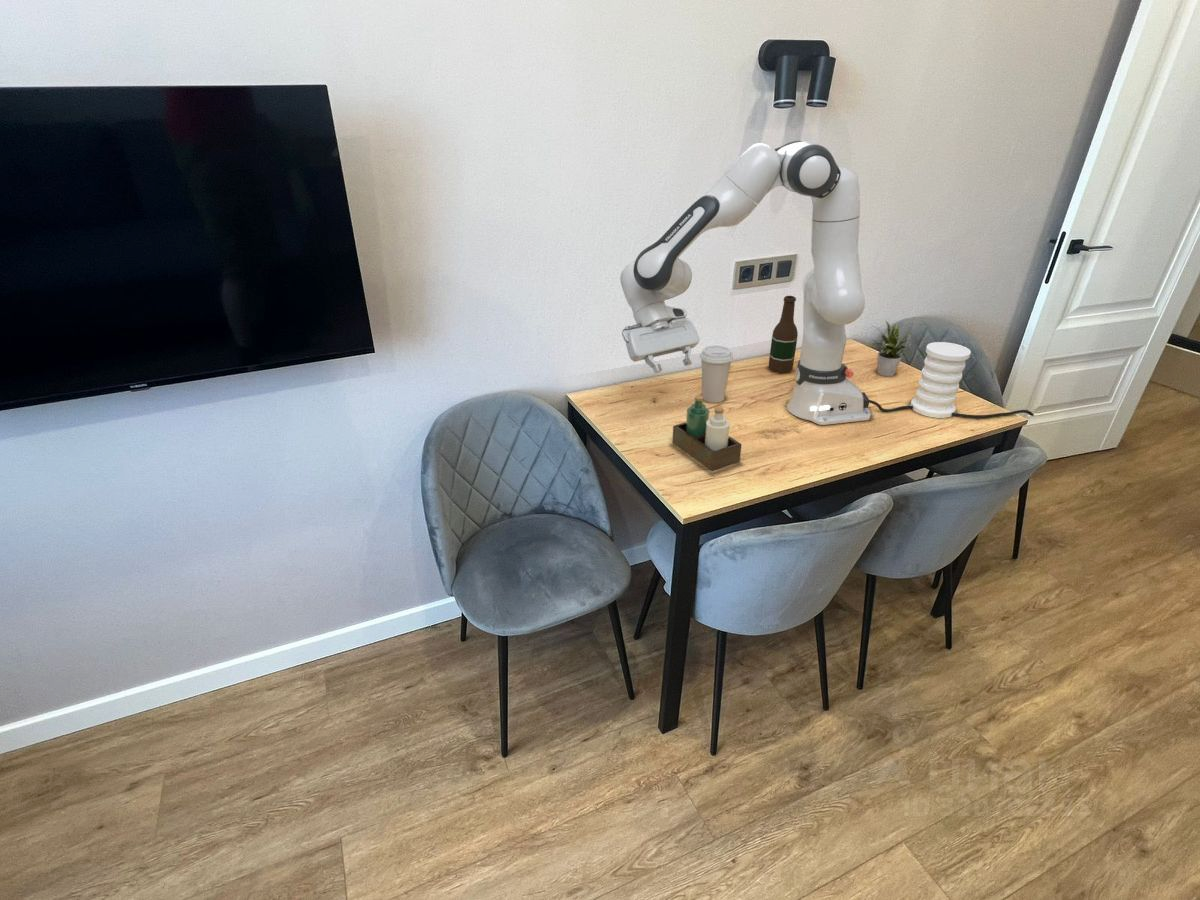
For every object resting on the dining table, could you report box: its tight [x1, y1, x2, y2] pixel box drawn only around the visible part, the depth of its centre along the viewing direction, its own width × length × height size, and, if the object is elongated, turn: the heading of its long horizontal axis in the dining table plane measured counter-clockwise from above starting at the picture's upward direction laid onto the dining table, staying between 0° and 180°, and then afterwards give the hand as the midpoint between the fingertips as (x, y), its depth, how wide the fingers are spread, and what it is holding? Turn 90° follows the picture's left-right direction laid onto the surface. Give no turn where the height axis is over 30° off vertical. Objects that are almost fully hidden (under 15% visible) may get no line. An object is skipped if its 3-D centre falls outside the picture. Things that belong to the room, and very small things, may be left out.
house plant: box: [870, 320, 918, 377], centre depth 202 cm, size 14×14×16 cm
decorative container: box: [909, 341, 972, 419], centre depth 178 cm, size 12×12×18 cm
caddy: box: [672, 421, 743, 472], centre depth 161 cm, size 16×9×6 cm, turn 30°
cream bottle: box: [705, 406, 731, 451], centre depth 155 cm, size 6×6×14 cm
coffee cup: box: [699, 345, 734, 404], centre depth 187 cm, size 10×10×15 cm
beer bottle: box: [768, 295, 799, 375], centre depth 203 cm, size 8×8×24 cm
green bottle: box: [685, 394, 710, 438], centre depth 161 cm, size 6×6×14 cm
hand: (674, 368), depth 164 cm, fingers open, 8 cm apart
